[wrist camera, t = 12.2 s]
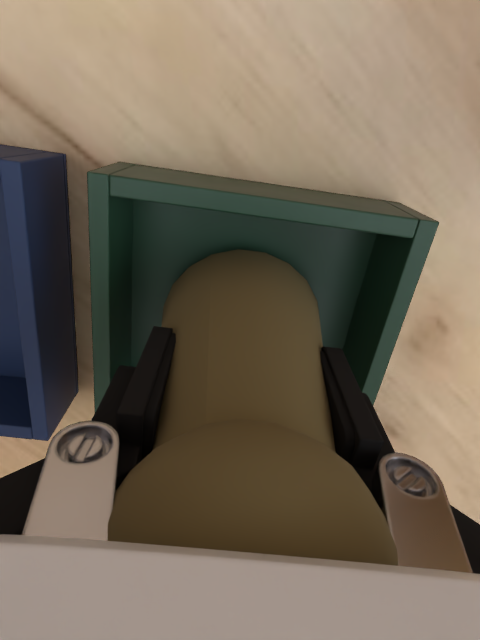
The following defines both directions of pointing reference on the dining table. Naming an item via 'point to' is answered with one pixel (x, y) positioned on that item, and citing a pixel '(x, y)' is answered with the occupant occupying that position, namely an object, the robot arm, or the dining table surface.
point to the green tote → (253, 235)
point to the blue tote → (35, 294)
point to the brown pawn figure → (248, 427)
